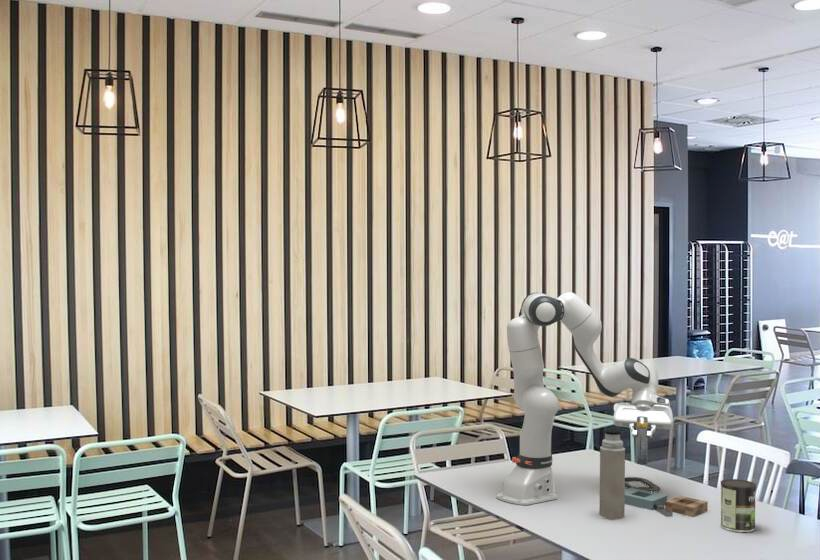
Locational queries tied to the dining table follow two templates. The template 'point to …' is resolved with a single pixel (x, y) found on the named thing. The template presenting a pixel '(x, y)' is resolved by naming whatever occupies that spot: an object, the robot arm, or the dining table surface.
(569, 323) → the robot arm
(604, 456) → the thermos bottle
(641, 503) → the teal flat box
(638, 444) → the gray gold-collared cylinder
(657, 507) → the drift key
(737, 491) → the coffee can
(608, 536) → the dining table surface
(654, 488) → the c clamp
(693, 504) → the socket block
